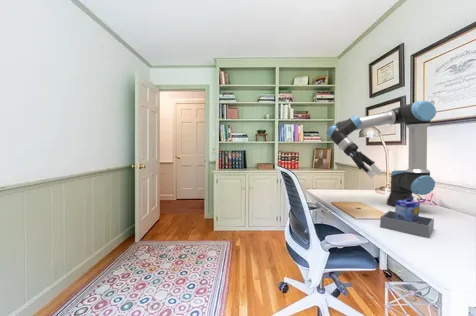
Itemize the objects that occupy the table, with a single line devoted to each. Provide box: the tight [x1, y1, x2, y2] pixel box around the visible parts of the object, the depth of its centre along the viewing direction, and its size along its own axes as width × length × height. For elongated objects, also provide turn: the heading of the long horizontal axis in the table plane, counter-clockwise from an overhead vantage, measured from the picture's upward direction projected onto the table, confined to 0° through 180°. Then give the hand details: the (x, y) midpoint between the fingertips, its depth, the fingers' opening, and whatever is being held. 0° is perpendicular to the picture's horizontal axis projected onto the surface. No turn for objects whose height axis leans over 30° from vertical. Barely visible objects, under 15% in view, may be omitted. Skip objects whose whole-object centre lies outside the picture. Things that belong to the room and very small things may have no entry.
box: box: [379, 210, 435, 239], centre depth 109 cm, size 15×18×5 cm
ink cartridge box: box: [394, 196, 421, 224], centre depth 109 cm, size 10×6×14 cm, turn 113°
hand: (377, 175), depth 124 cm, fingers open, 13 cm apart
